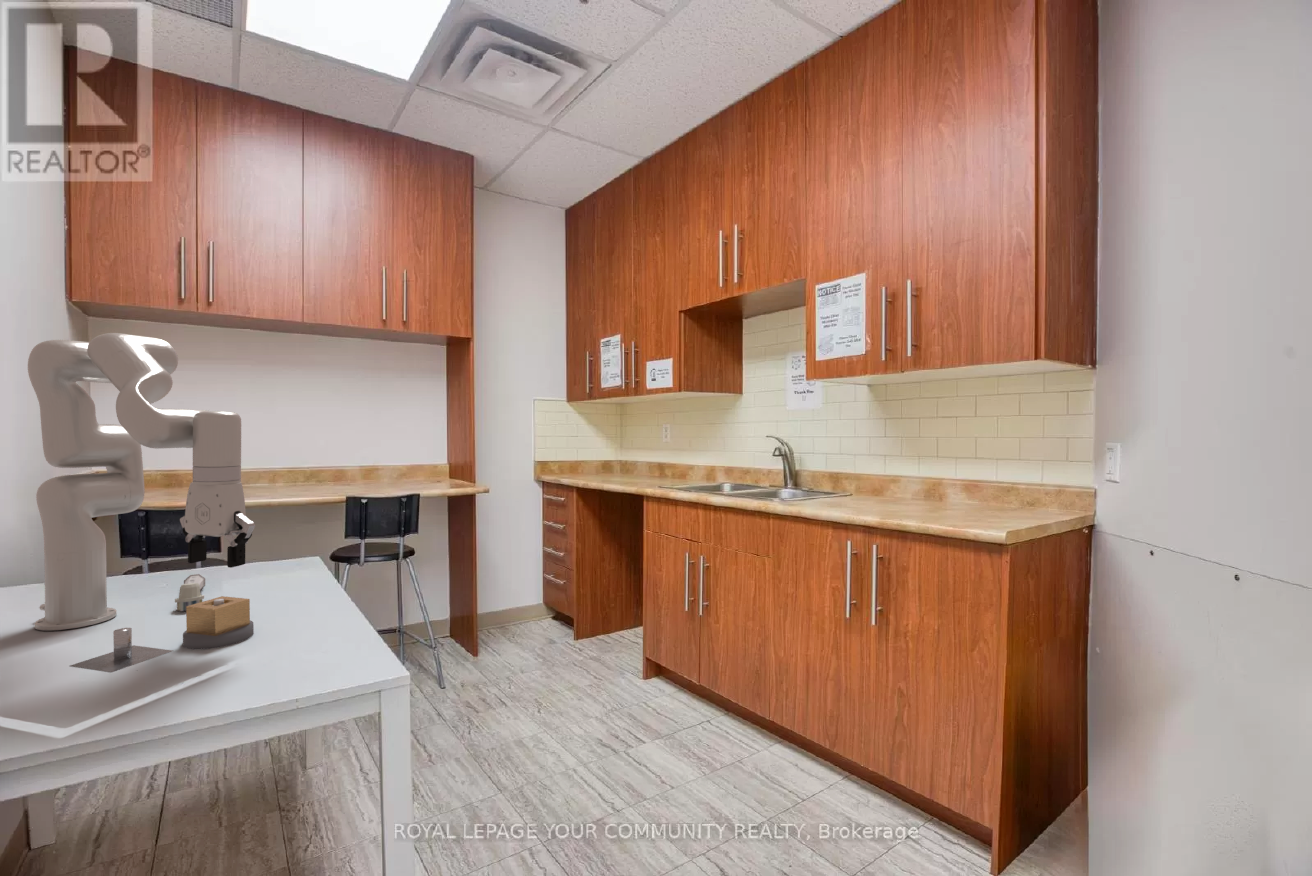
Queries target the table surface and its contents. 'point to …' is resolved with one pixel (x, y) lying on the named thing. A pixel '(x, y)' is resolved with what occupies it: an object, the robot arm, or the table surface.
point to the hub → (220, 640)
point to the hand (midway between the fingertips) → (216, 563)
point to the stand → (121, 654)
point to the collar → (217, 616)
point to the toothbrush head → (190, 592)
